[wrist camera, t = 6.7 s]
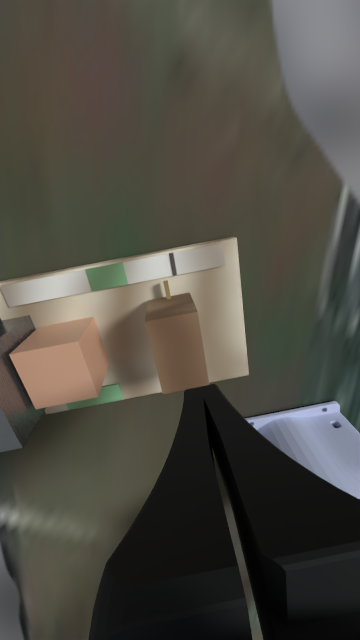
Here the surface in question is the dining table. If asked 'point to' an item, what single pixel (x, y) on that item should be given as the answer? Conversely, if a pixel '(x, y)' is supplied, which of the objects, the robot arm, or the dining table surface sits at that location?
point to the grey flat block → (15, 388)
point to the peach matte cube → (62, 363)
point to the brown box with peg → (176, 342)
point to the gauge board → (140, 310)
